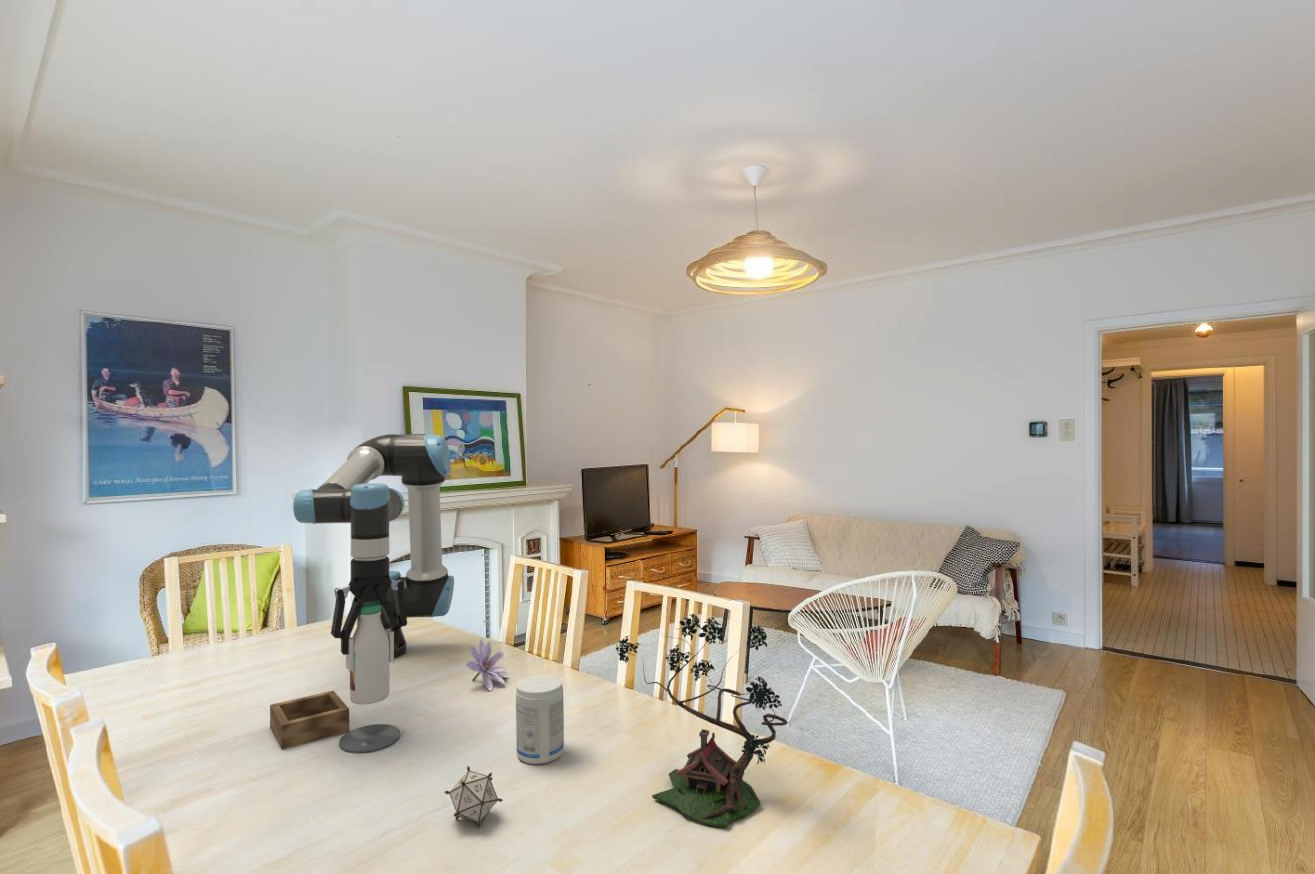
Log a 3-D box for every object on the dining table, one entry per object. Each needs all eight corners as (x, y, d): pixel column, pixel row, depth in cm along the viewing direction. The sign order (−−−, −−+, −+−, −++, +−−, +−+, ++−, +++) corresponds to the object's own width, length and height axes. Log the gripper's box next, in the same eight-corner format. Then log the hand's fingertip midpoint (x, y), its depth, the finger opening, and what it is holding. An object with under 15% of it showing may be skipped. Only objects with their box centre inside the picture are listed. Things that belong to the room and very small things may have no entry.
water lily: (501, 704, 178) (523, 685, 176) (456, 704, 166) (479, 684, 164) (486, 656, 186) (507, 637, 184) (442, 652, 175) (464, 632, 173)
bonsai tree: (797, 769, 132) (799, 608, 131) (777, 841, 109) (779, 646, 108) (631, 740, 144) (632, 592, 143) (581, 800, 121) (582, 624, 120)
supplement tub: (555, 739, 144) (556, 671, 143) (570, 759, 135) (570, 686, 135) (510, 748, 139) (510, 678, 139) (522, 770, 131) (522, 695, 131)
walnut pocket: (333, 711, 157) (333, 690, 157) (349, 731, 147) (349, 708, 147) (270, 727, 148) (270, 704, 148) (281, 749, 138) (281, 725, 138)
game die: (465, 837, 116) (453, 775, 121) (512, 817, 116) (499, 757, 121) (445, 839, 108) (433, 773, 113) (495, 818, 108) (482, 754, 113)
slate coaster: (390, 721, 152) (390, 719, 152) (408, 741, 142) (408, 738, 142) (332, 737, 144) (332, 734, 144) (347, 758, 135) (347, 755, 135)
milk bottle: (396, 691, 146) (396, 600, 146) (377, 706, 139) (377, 609, 138) (362, 690, 147) (362, 598, 147) (342, 704, 139) (342, 608, 139)
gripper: (412, 549, 152) (412, 650, 152) (313, 559, 139) (313, 670, 139) (424, 554, 146) (424, 659, 146) (322, 565, 133) (322, 681, 133)
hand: (370, 664), depth 143 cm, fingers closed on milk bottle, 7 cm apart
